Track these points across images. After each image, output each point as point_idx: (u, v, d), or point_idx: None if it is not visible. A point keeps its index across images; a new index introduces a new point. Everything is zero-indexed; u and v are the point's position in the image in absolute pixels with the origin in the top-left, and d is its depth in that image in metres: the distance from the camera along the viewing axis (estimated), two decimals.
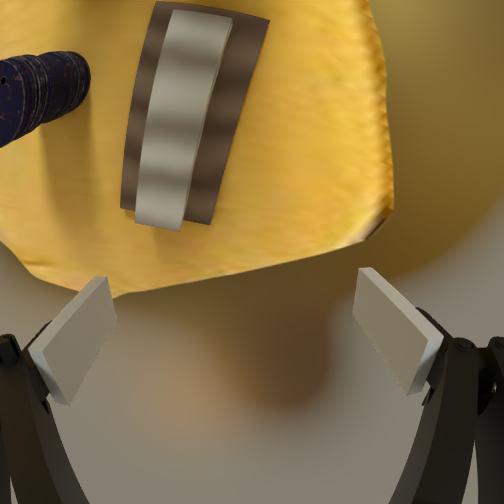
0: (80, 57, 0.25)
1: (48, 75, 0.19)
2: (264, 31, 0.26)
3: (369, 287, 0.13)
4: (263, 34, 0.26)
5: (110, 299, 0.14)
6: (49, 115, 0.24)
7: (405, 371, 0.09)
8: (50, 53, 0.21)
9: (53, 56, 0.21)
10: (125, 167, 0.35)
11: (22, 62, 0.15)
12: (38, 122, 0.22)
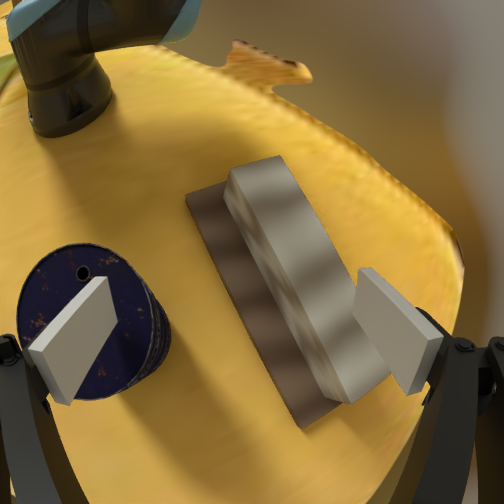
0: None
1: None
2: None
3: (369, 287, 0.13)
4: None
5: (110, 299, 0.14)
6: None
7: (405, 371, 0.09)
8: None
9: None
10: (279, 379, 0.28)
11: None
12: (158, 348, 0.19)
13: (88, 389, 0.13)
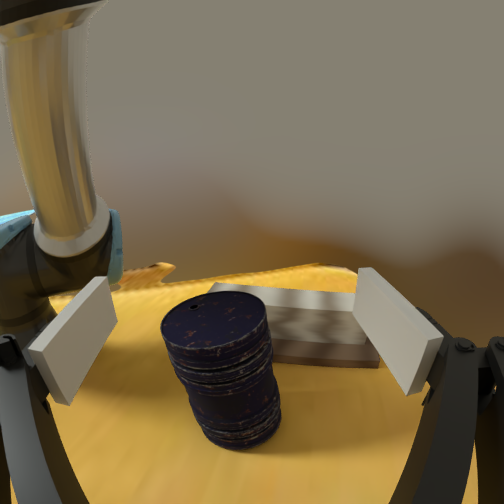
0: None
1: None
2: None
3: (369, 287, 0.13)
4: None
5: (110, 299, 0.14)
6: None
7: (405, 371, 0.09)
8: None
9: None
10: (336, 357, 0.39)
11: None
12: None
13: (251, 325, 0.23)
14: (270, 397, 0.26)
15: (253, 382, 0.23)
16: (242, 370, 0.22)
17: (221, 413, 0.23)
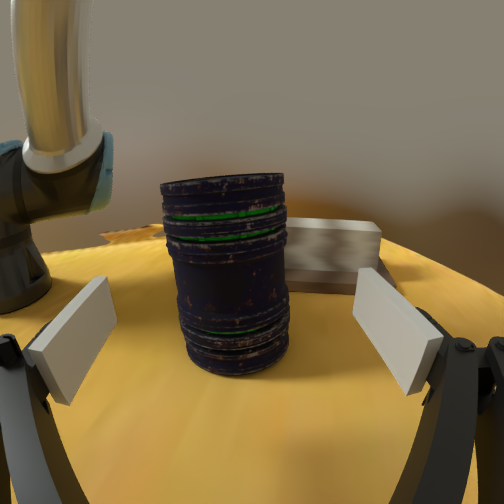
0: None
1: None
2: None
3: (369, 287, 0.13)
4: None
5: (110, 299, 0.14)
6: None
7: (405, 371, 0.09)
8: None
9: None
10: (347, 282, 0.35)
11: None
12: None
13: None
14: (279, 295, 0.22)
15: (261, 251, 0.19)
16: (250, 224, 0.18)
17: (214, 301, 0.20)
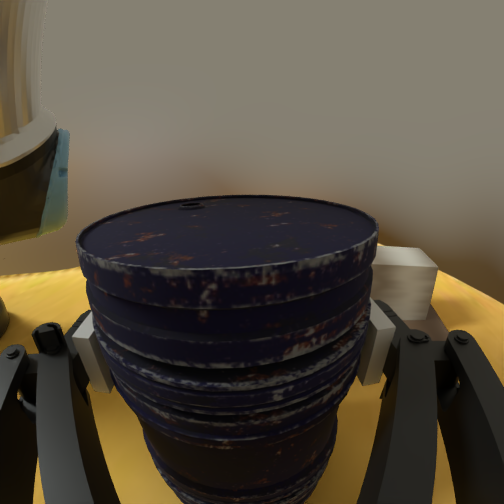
0: None
1: None
2: None
3: None
4: None
5: None
6: None
7: (361, 361, 0.10)
8: None
9: None
10: None
11: None
12: None
13: (344, 240, 0.07)
14: (321, 451, 0.10)
15: (302, 426, 0.07)
16: (283, 391, 0.06)
17: (195, 473, 0.08)
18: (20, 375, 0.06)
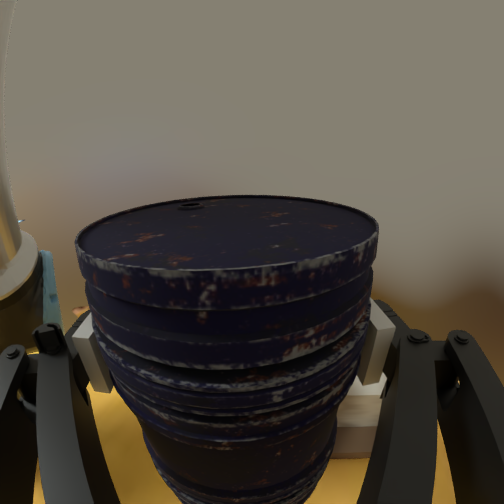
0: None
1: None
2: None
3: None
4: None
5: None
6: None
7: (361, 361, 0.10)
8: None
9: None
10: (349, 449, 0.25)
11: None
12: None
13: (344, 240, 0.07)
14: (321, 451, 0.09)
15: (301, 427, 0.07)
16: (282, 392, 0.06)
17: (194, 474, 0.08)
18: (20, 375, 0.06)
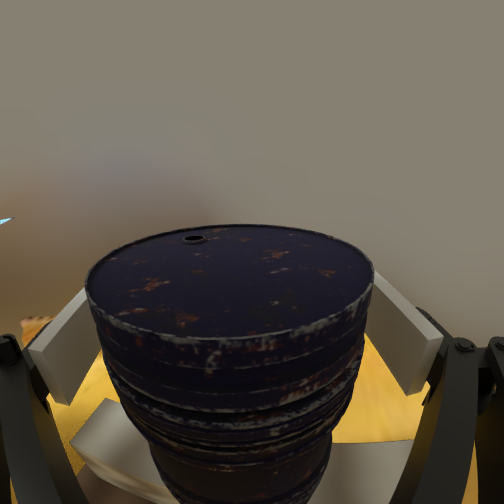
0: None
1: None
2: None
3: None
4: None
5: None
6: None
7: (405, 371, 0.09)
8: None
9: None
10: None
11: None
12: None
13: (339, 294, 0.07)
14: (316, 467, 0.10)
15: (296, 453, 0.07)
16: (279, 428, 0.06)
17: (199, 488, 0.08)
18: None
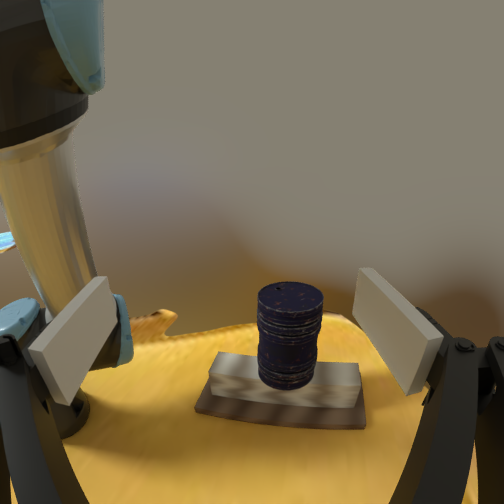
0: None
1: None
2: None
3: (369, 287, 0.13)
4: None
5: (110, 299, 0.14)
6: None
7: (405, 371, 0.09)
8: None
9: None
10: (328, 422, 0.40)
11: None
12: None
13: (314, 304, 0.39)
14: (312, 355, 0.41)
15: (307, 339, 0.39)
16: (304, 330, 0.38)
17: (281, 358, 0.40)
18: None
